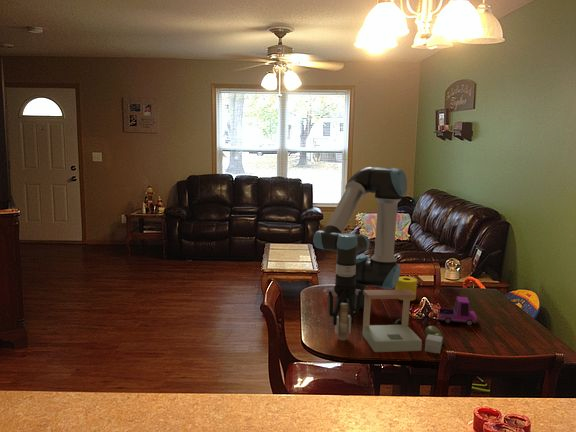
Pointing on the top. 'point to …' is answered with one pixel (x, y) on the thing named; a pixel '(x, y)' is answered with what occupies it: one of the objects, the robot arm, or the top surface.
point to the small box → (433, 343)
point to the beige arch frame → (387, 295)
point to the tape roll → (407, 285)
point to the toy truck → (458, 312)
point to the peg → (343, 321)
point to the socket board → (391, 338)
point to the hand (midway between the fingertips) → (342, 332)
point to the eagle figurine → (400, 322)
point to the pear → (433, 332)
